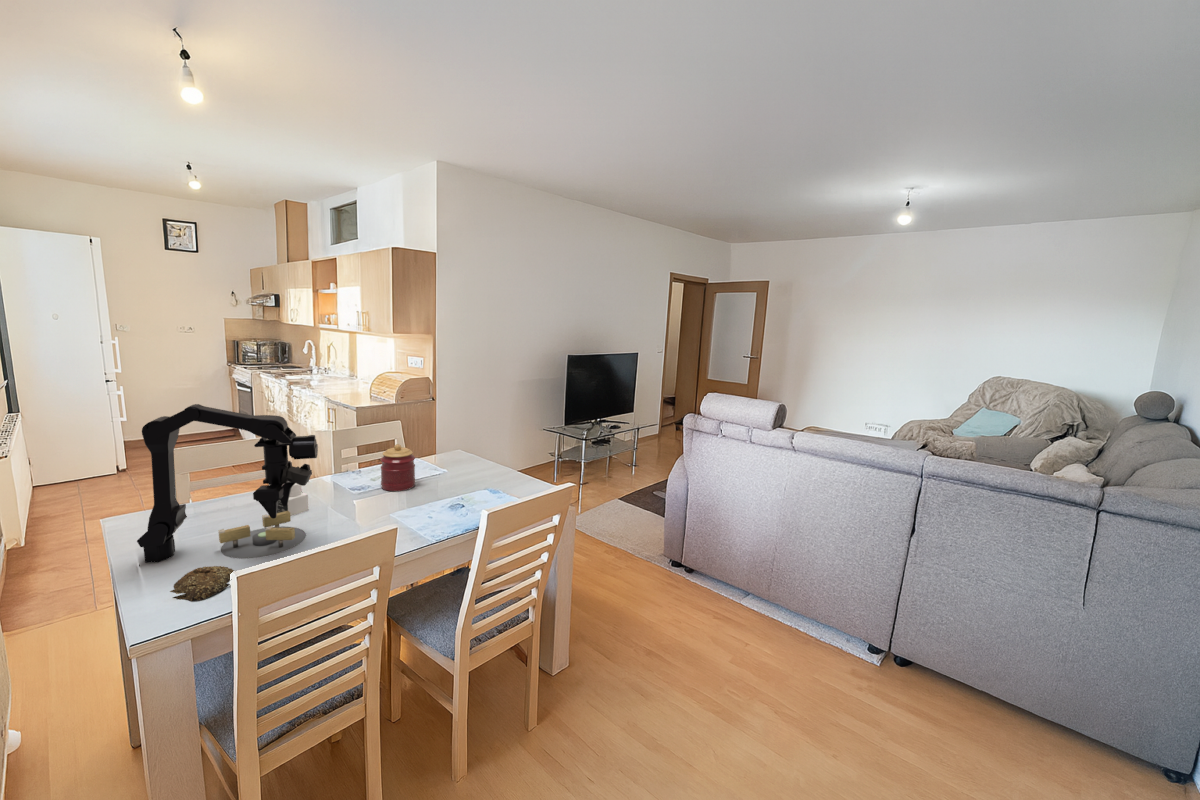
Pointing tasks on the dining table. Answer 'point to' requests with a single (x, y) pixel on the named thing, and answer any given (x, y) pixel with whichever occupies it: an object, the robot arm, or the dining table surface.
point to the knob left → (234, 534)
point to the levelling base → (260, 550)
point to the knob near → (280, 534)
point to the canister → (397, 469)
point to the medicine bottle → (295, 501)
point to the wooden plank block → (276, 519)
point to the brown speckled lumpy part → (202, 583)
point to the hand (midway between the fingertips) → (279, 511)
